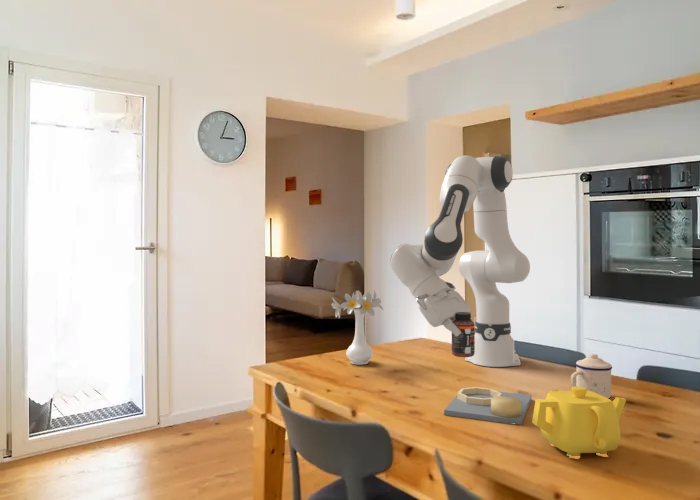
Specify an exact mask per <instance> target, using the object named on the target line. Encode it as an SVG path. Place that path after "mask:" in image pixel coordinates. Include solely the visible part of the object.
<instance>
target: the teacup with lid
mask: <svg viewBox="0 0 700 500" xmlns="http://www.w3.org/2000/svg"><path fill="white" fill-rule="evenodd" d="M575 366H576V369H575V370H576V371H574V372H573V373H572V374H571V375H570V384H571V386H572V387H575V386H579V387H584V388H586V389H587V391H592V392H595V393H597V394H599V395H602V396H604V397H606V398H610V397H611V398H612V369H613V367H612V364H611V363H610V362H607V361H605V360H603V359H602V358H600V357H599V355H598V354H597V353H589V357H585V358H583V359H580V360H577V361H576V362H575ZM611 398H610V399H611Z"/></svg>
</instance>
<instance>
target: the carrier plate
mask: <svg viewBox="0 0 700 500" xmlns="http://www.w3.org/2000/svg"><path fill="white" fill-rule="evenodd" d="M530 401H532V395H531V394H524V393H523V394H522V393H516V392H515V393H513V392H508V391H507V392H505V391H497V390H495V389H492V388H488V387H486V388H485V387H476V386H472V387H463V388H460V389H459V390H458V391H457V393H456V395H455V397H454V398H453V399H452V401H450V402H449V404H448V405H447V406H446V407H445V408H444V410H443V415H444V416H450V417H458V418H465V419H471V420H472V419H473V420H479V421H486V422H493V421H494V422H495V423H500V422H503V423H502V424H508V423H515V424H520V425H519V426H522V424H523V422H522V421H524V419H525V417H526V414H527V412H528V410H527V409H529V407H530V405H531V402H530ZM529 404H530V405H529ZM528 406H529V407H528ZM526 411H527V412H526ZM524 416H525V417H524ZM515 424H514V425H515Z"/></svg>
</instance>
